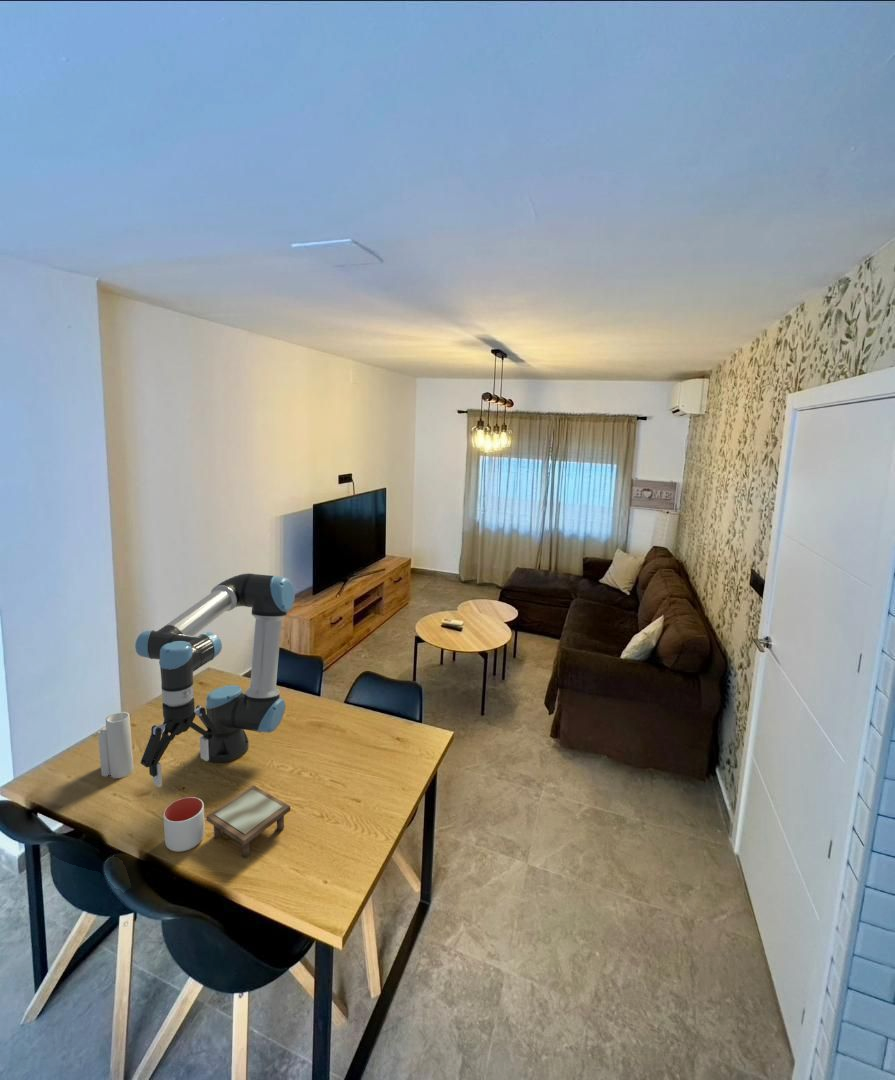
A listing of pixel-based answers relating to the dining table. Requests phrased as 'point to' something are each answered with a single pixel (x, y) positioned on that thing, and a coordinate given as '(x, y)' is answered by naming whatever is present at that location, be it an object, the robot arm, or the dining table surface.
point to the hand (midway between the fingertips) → (182, 771)
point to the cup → (184, 824)
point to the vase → (116, 746)
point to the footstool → (248, 816)
